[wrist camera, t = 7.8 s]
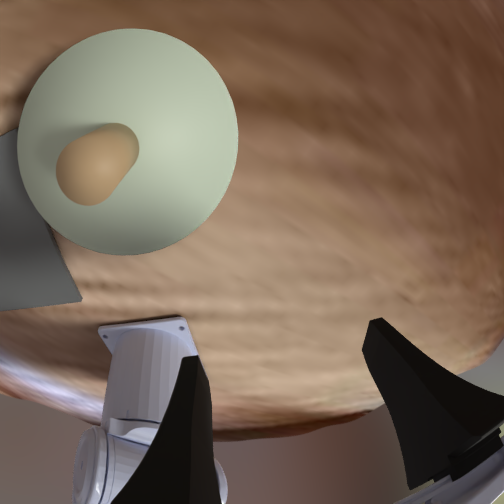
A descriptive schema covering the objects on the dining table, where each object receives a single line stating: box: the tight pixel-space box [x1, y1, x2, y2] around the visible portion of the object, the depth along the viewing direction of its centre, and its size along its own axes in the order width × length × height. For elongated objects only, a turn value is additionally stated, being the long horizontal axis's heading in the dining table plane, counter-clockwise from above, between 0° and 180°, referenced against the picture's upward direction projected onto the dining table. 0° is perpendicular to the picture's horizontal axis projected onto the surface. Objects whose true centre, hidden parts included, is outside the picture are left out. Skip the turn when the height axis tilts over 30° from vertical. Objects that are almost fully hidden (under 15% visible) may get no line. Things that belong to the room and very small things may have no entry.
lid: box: [17, 29, 238, 255], centre depth 10 cm, size 11×11×4 cm
